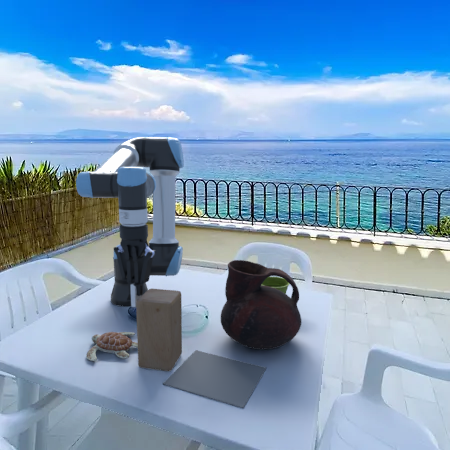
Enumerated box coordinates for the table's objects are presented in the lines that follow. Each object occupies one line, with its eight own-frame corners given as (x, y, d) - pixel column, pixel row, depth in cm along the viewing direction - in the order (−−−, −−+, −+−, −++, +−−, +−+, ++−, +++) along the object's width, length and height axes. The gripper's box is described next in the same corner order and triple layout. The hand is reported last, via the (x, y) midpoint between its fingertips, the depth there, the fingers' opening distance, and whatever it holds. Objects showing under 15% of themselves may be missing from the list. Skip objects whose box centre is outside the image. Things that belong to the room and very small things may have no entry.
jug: (295, 369, 102) (299, 283, 97) (209, 354, 109) (209, 273, 105) (303, 329, 126) (307, 258, 121) (232, 318, 133) (233, 251, 128)
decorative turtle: (112, 330, 124) (112, 317, 123) (153, 342, 117) (153, 327, 116) (69, 357, 107) (68, 341, 106) (113, 372, 100) (112, 355, 100)
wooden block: (171, 373, 100) (170, 303, 96) (136, 368, 101) (134, 300, 98) (183, 354, 109) (182, 289, 105) (151, 350, 111) (149, 287, 107)
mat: (195, 350, 111) (195, 350, 111) (266, 368, 102) (266, 367, 102) (162, 384, 95) (162, 383, 95) (243, 408, 86) (243, 407, 86)
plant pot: (260, 301, 148) (261, 275, 146) (290, 305, 145) (291, 278, 143) (254, 313, 137) (255, 285, 135) (286, 318, 134) (287, 288, 132)
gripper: (105, 224, 100) (109, 306, 104) (145, 228, 95) (147, 314, 99) (123, 219, 107) (126, 297, 111) (161, 223, 102) (163, 304, 106)
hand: (136, 305), depth 105 cm, fingers closed
